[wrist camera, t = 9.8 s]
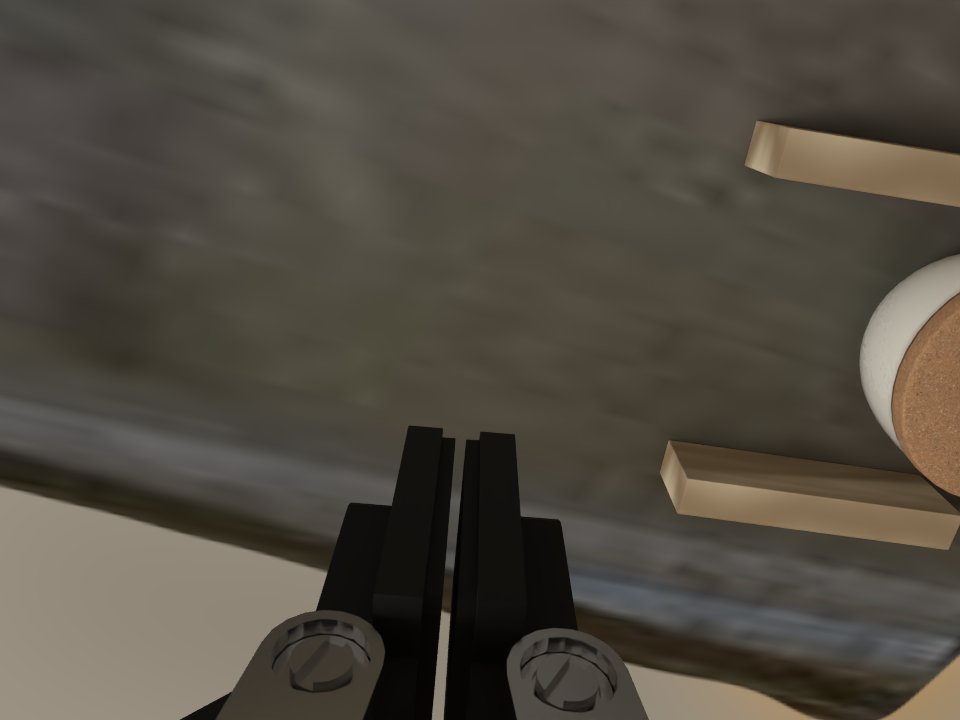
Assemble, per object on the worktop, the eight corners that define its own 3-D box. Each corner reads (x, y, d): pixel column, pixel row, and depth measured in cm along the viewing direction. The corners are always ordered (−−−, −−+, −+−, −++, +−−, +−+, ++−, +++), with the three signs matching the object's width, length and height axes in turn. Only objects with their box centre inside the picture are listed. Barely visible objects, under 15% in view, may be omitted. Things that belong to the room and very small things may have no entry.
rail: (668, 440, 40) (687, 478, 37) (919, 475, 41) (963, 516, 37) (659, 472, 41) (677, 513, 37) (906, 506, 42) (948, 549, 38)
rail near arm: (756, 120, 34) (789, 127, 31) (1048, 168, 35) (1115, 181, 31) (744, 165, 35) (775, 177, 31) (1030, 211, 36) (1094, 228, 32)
